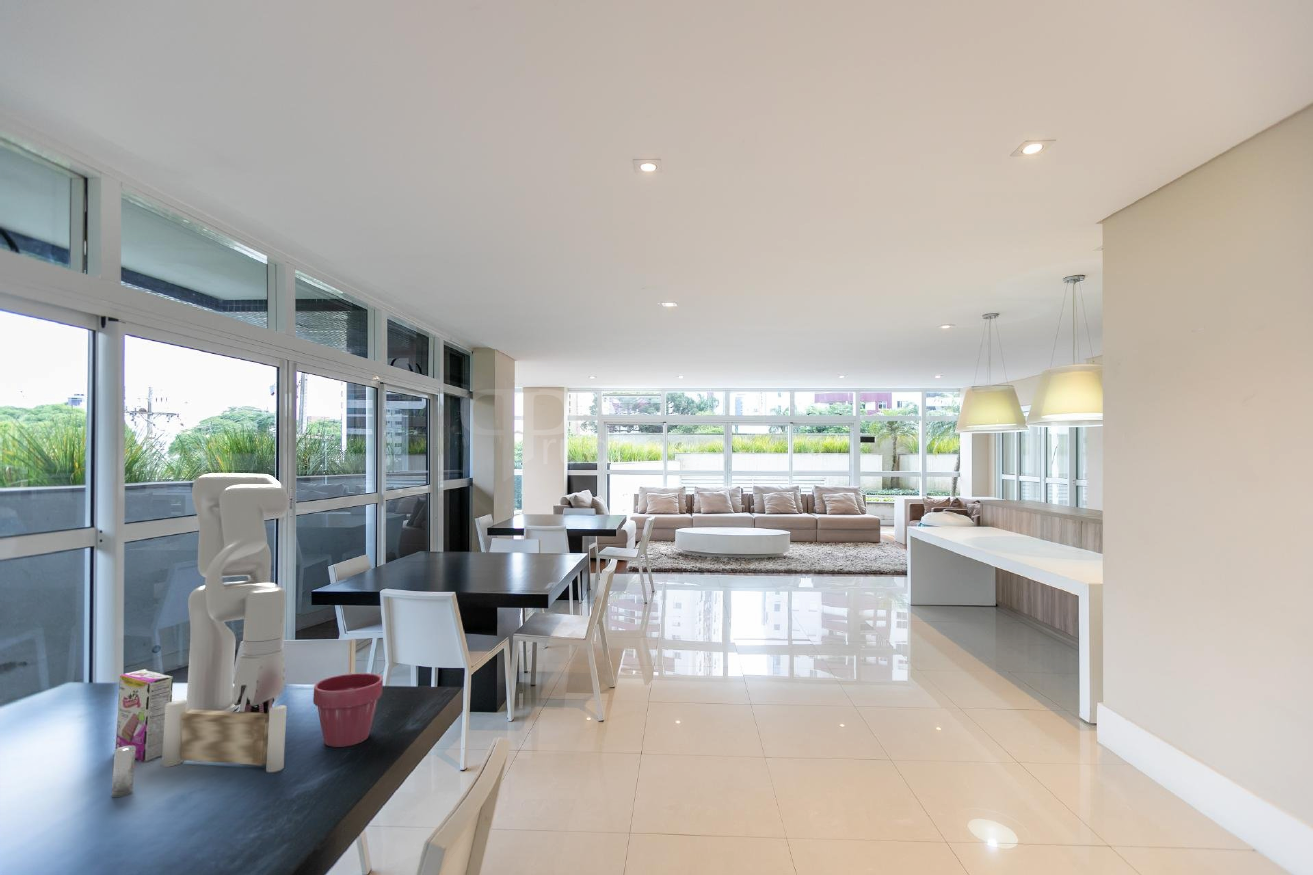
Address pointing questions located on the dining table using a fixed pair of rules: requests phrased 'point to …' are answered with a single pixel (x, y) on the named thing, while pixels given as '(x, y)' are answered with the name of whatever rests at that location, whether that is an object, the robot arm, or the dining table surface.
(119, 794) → the post
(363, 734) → the plant pot
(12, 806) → the dining table surface
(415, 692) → the dining table surface
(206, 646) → the robot arm
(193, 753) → the gate
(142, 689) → the candy bar box
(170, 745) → the gate posts
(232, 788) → the dining table surface
